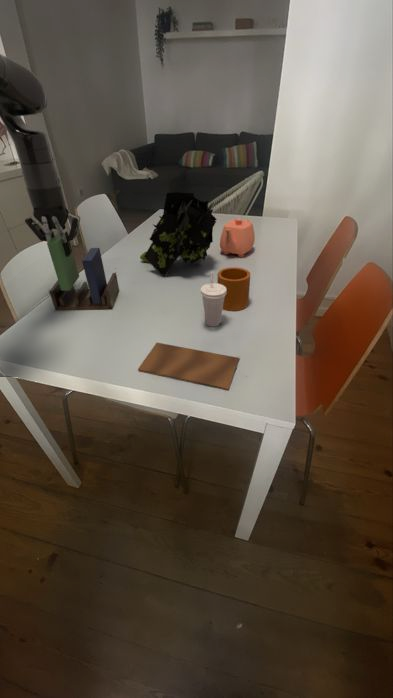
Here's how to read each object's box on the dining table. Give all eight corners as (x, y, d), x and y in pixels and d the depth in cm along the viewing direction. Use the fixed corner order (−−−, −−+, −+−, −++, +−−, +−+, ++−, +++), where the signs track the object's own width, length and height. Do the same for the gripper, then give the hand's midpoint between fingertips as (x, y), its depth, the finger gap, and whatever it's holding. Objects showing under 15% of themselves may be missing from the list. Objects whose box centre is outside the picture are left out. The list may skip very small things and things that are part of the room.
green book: (61, 290, 86) (46, 243, 78) (71, 276, 93) (58, 231, 86) (70, 290, 86) (56, 243, 78) (79, 276, 93) (67, 231, 86)
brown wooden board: (138, 371, 68) (137, 369, 68) (156, 344, 76) (156, 342, 76) (228, 390, 63) (228, 388, 63) (239, 359, 71) (239, 357, 70)
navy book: (93, 304, 89) (81, 260, 81) (100, 289, 96) (90, 247, 88) (101, 304, 89) (91, 260, 81) (108, 289, 96) (99, 247, 88)
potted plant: (129, 276, 109) (147, 202, 84) (151, 237, 121) (171, 163, 97) (186, 302, 112) (219, 238, 88) (201, 261, 125) (234, 195, 100)
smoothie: (205, 314, 86) (205, 265, 78) (228, 318, 84) (230, 268, 76) (197, 326, 82) (196, 276, 73) (221, 331, 80) (223, 279, 71)
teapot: (231, 241, 130) (233, 210, 122) (259, 246, 125) (262, 214, 118) (210, 259, 116) (210, 225, 109) (240, 264, 112) (243, 230, 104)
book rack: (55, 310, 89) (49, 291, 85) (67, 292, 98) (62, 273, 94) (112, 309, 89) (108, 290, 85) (119, 291, 98) (116, 272, 94)
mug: (259, 297, 93) (262, 268, 88) (237, 314, 86) (239, 284, 80) (233, 288, 98) (235, 260, 92) (210, 304, 90) (211, 275, 85)
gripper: (6, 188, 71) (31, 261, 82) (67, 187, 71) (85, 260, 82) (20, 181, 77) (42, 251, 88) (77, 180, 77) (92, 250, 88)
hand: (63, 255), depth 85 cm, fingers closed on green book, 2 cm apart
